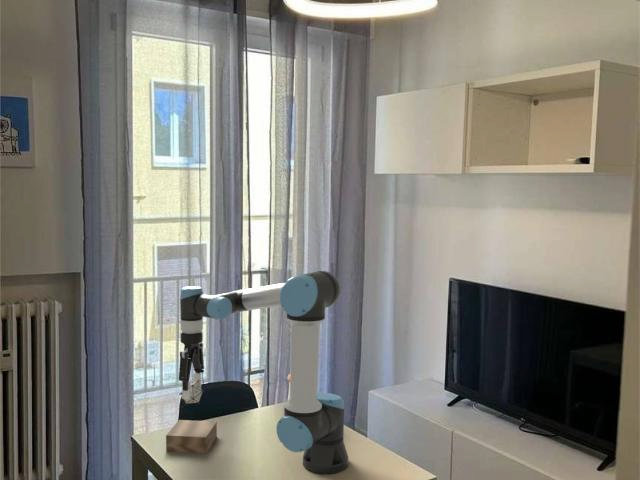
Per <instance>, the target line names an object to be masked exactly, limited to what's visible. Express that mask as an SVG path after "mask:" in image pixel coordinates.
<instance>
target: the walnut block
mask: <svg viewBox="0 0 640 480" xmlns="http://www.w3.org/2000/svg"><path fill="white" fill-rule="evenodd" d="M217 429H218V427H217V421H214V420H213V421H210V420H189V419H178V421H177V422H176V423H175V424H174V425H173V427H172V428H171V429H170V430H169V431H168V432H167V434H166V436H165V450H166V452H169V451H170V452H172V453H173V452H174V453H188V454H189V453H191V454H207V453H208V451H209V450H210V449H211V447H212V445H213V443H214V442H215V440H216V438H217V436H218V433H217V432H218V430H217Z"/></svg>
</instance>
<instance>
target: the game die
mask: <svg viewBox="0 0 640 480" xmlns="http://www.w3.org/2000/svg"><path fill="white" fill-rule="evenodd" d="M198 382H199V380H198V381H197V382H193V381H192V382H191V381H190V394H191V399H190V400H187V399H183V401H184V407H185V406H187V405H188V404H199V405H200V404H201V402H200V401H201V398H202V395H203V393H205V392H206V391H205V390H203V389H202V386H201V387H200V385H199V383H198ZM178 395H179V396H182V391H181V392H180V393H179V394H178Z"/></svg>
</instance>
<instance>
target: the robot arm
mask: <svg viewBox="0 0 640 480" xmlns="http://www.w3.org/2000/svg"><path fill="white" fill-rule="evenodd" d="M340 295H341V284H340V281H339V279H338V278H337V277H336V276H335V275H334V274H333V273H331V272H330V271H326V270H318V271H314V272H309V273H300V274H297V275H295V276H293V277H290V278H288V279H287V280H286V281H284V282H282V283H275V284H269V285H264V286H257V287H252V288H245V289H244V288H243V289H237V290H233V291H229V292H225V293H220V294H214V295H212V294H211V295H210V294H204V291H203V288H202V287H201V286H195V285H194V286H193V285H191V286H190V285H189V286H184V287H182V288H181V289H180V295H179V296H180V299H179V304H180V306H179V307H180V310H179V311H180V321H179V324H180V331H181V332H180V343H181V344H183V345H184V347H183V351H180V352H179V369H178V370H179V372H178V381H181V383H182V384H181V386H182V387H181V388H182V389H181V390H182V391H181V392H182V395H181V399H182V400H184V399H187V400H190V399H191V394H190V383H191V380H190V376H191V370H192V367H193V371H194V372H193V373H192V382H197V381H198V380H199V382H198V383H199V385H200V387H201V388H202V373H203V374H204V372H205V363H204V361H205V360H204V352H203V350H204V349H203V348H204V343H203V336H204V335H203V334H204V333H203V326H204V325H203V323H204V322H203V317H204V318H209V319H213V320H214V319H215V320H226V319H227V318H228V317H230V315H233V314H236V313H241V312H247V311H253V310H255V311H256V310H261V309H269V308H276V307H281V308H282V309H283V311H284V313H286V319H287V320H288V321H289V323H290V325H291V326H290V327H291V332H290V362H289V363H290V365H289V366H290V367H289V369H290V370H289V374H290V398H289V400H288V399H287V400H286V401H285V402H284V405H283V416H282V417H280V419H279V420H278V422H277V423H276V436H277V438H278V440H279V442H280V443H281V444H282V445H283V447H285V448H286V449H287V450H288V451H290V452H293V453H302V452H303V454H302V466H303V467H304V468H305V469H306V470H308V471H310V472H313V473H316V474H322V475H323V474H324V475H325V474H328V475H329V474H336V473H340V472H342V471H344V470H346V469H347V468H348V466H349V455H348V454H349V453H348V451H347V447H346V445H345V442H344V441H345V440H344V437H345V436H344V435H345V434H344V432H345V431H344V430H345V429H344V428H345V427H344V426H345V425H344V424H345V401H344V398H343V397H341V396H340V395H338V394H334V393H331V392H318V391H319V387H318V384H319V356H320V354H319V352H320V325H321V323H322V322H324V321H325V320H326V319H325V318H326V308H329V307H331V306H333V305H334V304H335V303H336V302H337V301H338V299H339V298H340Z"/></svg>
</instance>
